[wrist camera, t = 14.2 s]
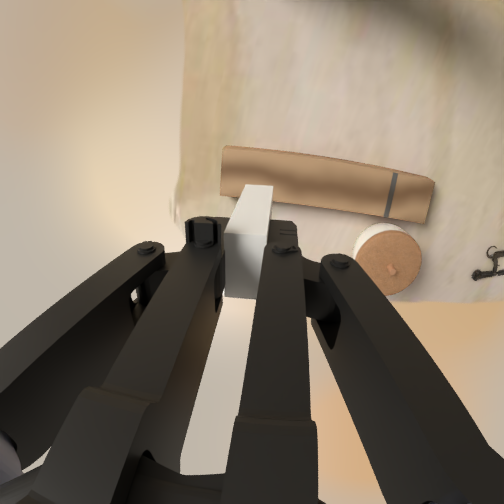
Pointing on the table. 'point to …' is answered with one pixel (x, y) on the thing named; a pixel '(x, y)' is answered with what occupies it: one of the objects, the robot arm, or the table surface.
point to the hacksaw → (479, 274)
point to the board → (327, 182)
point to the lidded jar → (388, 256)
